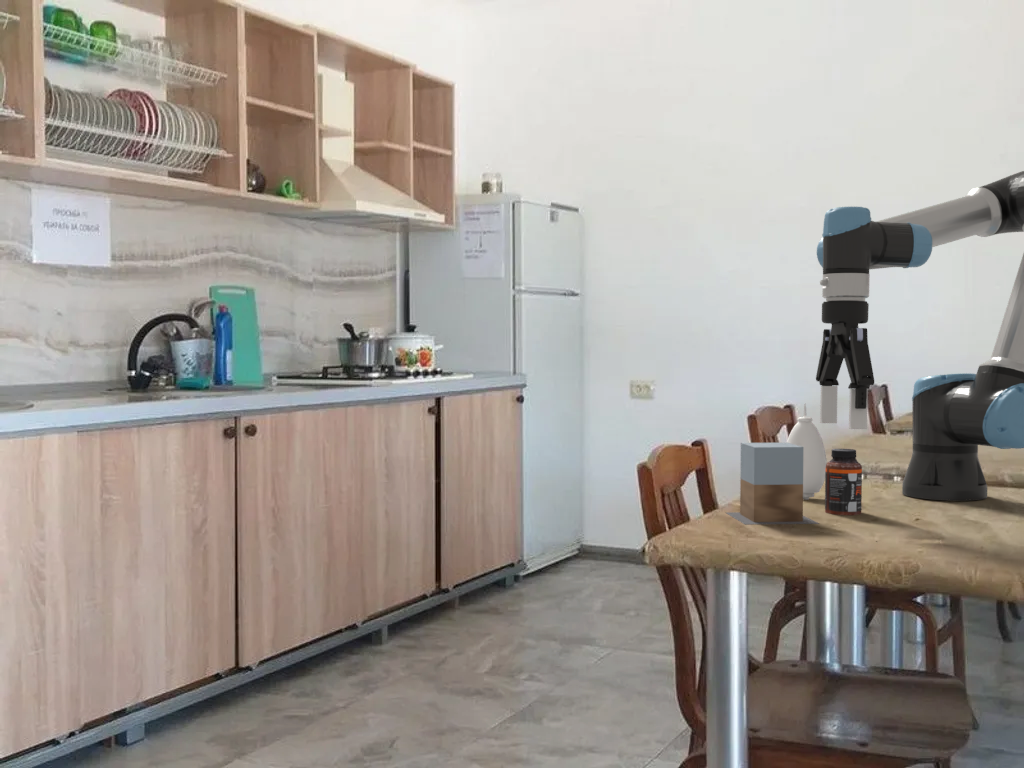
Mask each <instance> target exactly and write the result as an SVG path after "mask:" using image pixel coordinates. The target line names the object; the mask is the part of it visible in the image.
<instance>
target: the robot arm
mask: <svg viewBox="0 0 1024 768" xmlns="http://www.w3.org/2000/svg"><path fill="white" fill-rule="evenodd" d="M822 227H823V228H822V234H821V235H822V237H821V239H820V240H819V242H818V244H817V247H816V258H817V262H818V263H819V265H820V266H821V267H822V279H820V281H819V285H820V286H822V294H821V295H822V298H824V299H825V301H823V302H822V303H821V322H822V323H823V324H829V325H831V327H830V328H825V329H823V332H822V333H823V334H822V335H823V336H822V344H821V349H820V354H819V358H818V359H819V361H818V366H817V370H816V375H815V381H816V382H818V383H819V385H820V405H819V406H820V408H819V409H820V411H819V418H820V419H819V423H820V424H837V423H838V386H840V383H839V381H838V376H839V373H840V370H841V367H842V364H843V362H845V365H846V368H847V372H848V375H849V380H850V384H848V389H849V414H848V429H849V430H868V400H869V399H868V393H869V392H868V391H869V389H870V386H874V385H875V377H874V372H873V366H872V359H871V353H870V348H869V343H868V342H869V341H868V338H869V337H868V329H867V328H866V327H859V324H860V325H861V324H866V323H868V321H869V305H870V304H869V303H868V301H866V299H868V298H869V297H870V270H877V269H878V270H879V269H890V268H903V269H908V268H918V267H921V266H923V265H925V264H926V263H927V262H928V260H929V259H930V257H931V255H932V251H933V248H936V247H939V246H942V245H945V244H948V243H952V242H955V241H960V240H963V239H966V238H970V237H974V236H978V237H981V238H987V237H988V238H989V237H991V236H995V235H999V234H1007V233H1008V234H1009V233H1010V234H1011V233H1024V170H1021V171H1019V172H1016V173H1014V174H1011V175H1009V176H1006V177H1003V178H1001V179H999V180H996V181H992V182H990V183H988V184H985V185H982V186H979V187H975V188H972V189H971V190H969V191H968V192H967V193H966V195H965V196H962V197H958V198H955V199H951V200H948V201H944V202H941V203H938V204H933V205H931V206H927V207H924V208H920V209H915V210H912V211H910V212H909V211H908V212H906V213H901V214H898V215H895V216H890V217H888V218H884V219H881V220H878V221H874V220H872V217H871V210H870V209H869V208H868V207H863V206H838V207H833V208H830V209H828V210H827V211H826V212H825V214H824V220H823V226H822ZM1013 283H1014V284H1013V286H1012V290H1011V292H1010V296H1009V298H1008V301H1007V305H1006V308H1005V312H1004V315H1003V318H1002V321H1001V325H1000V327H999V330H998V334H997V338H996V341H995V344H994V347H993V351H992V354H991V357H990V359H989V360H986V361H985V362H982V363H981V364H979V365H978V368H977V371H976V373H970V372H969V373H967V372H966V373H947V374H939V375H938V374H936V375H929V376H928V375H927V376H922V377H920V378H918V379H916V381H915V382H914V384H913V393H912V394H913V395H912V398H911V401H912V453H911V458H910V461H909V464H908V466H907V469H906V472H905V473H904V475H905V476H904V478H903V481H902V487H901V488H902V492H901V494H902V495H904V496H906V497H910V498H916V499H917V498H918V499H924V500H925V499H926V500H936V501H956V502H957V501H980V500H985V499H987V498H988V484H987V481H986V477H985V474H984V471H983V469H982V465H981V463H980V460H979V446H985V447H991V448H997V449H1002V450H1010V449H1015V450H1018V449H1024V252H1023V254H1022V257H1021V261H1020V263H1019V267H1018V270H1017V273H1016V277H1015V279H1014V282H1013Z"/></svg>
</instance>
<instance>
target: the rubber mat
mask: <svg viewBox="0 0 1024 768" xmlns="http://www.w3.org/2000/svg"><path fill="white" fill-rule="evenodd" d="M725 514H727V515H728V516H730V517H732V518H734V519H735V520H737V521H738V522H740V523H742V524H743V525H746V526H747V525H751V526H752V525H812V524H813V525H817V524H818V525H820V523H819V522H818V521H815V520H813V519H811V518H809V517H806V516H804V515H803V522H753V521H751V520H749V519H748V518H746V517H744V516H742V515H741V514H740V511H739V512H737V511H735V512H730V511H729V512H725Z"/></svg>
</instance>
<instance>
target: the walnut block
mask: <svg viewBox="0 0 1024 768" xmlns="http://www.w3.org/2000/svg"><path fill="white" fill-rule="evenodd" d="M739 481H740V488H739V489H740V492H739V494H740V495H739V497H740V499H739V500H740V501H739V502H740V503H739V504H740V506H739V508H740V509H739V512H740V514H741V515H742V516H744V517H746V518H748V519H749V520H751V521H753V522H803V516H804V500H803V484H787V485H753V484H751V483H749V482H747V481H745V480H742V479H740V480H739Z"/></svg>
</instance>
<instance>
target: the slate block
mask: <svg viewBox="0 0 1024 768" xmlns="http://www.w3.org/2000/svg"><path fill="white" fill-rule="evenodd" d="M740 479H742V480H745V481H747V482H749V483H751V484H753V485H787V484H803V447H801V446H798V445H794V444H791V443H786V442H740Z"/></svg>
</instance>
